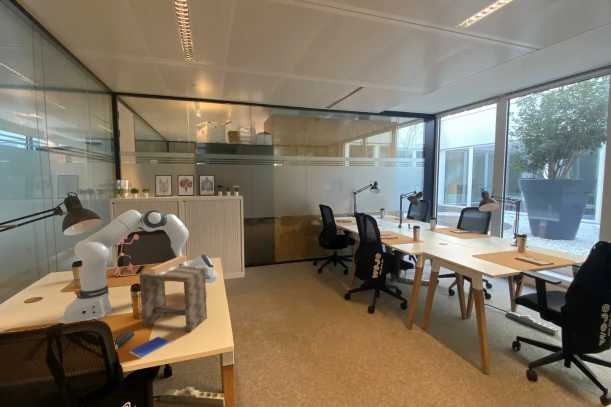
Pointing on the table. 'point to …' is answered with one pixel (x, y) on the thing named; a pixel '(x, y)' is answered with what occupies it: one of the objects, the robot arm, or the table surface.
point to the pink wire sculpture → (126, 255)
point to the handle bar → (167, 265)
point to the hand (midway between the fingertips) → (186, 267)
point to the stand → (156, 300)
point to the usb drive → (123, 339)
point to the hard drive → (149, 347)
